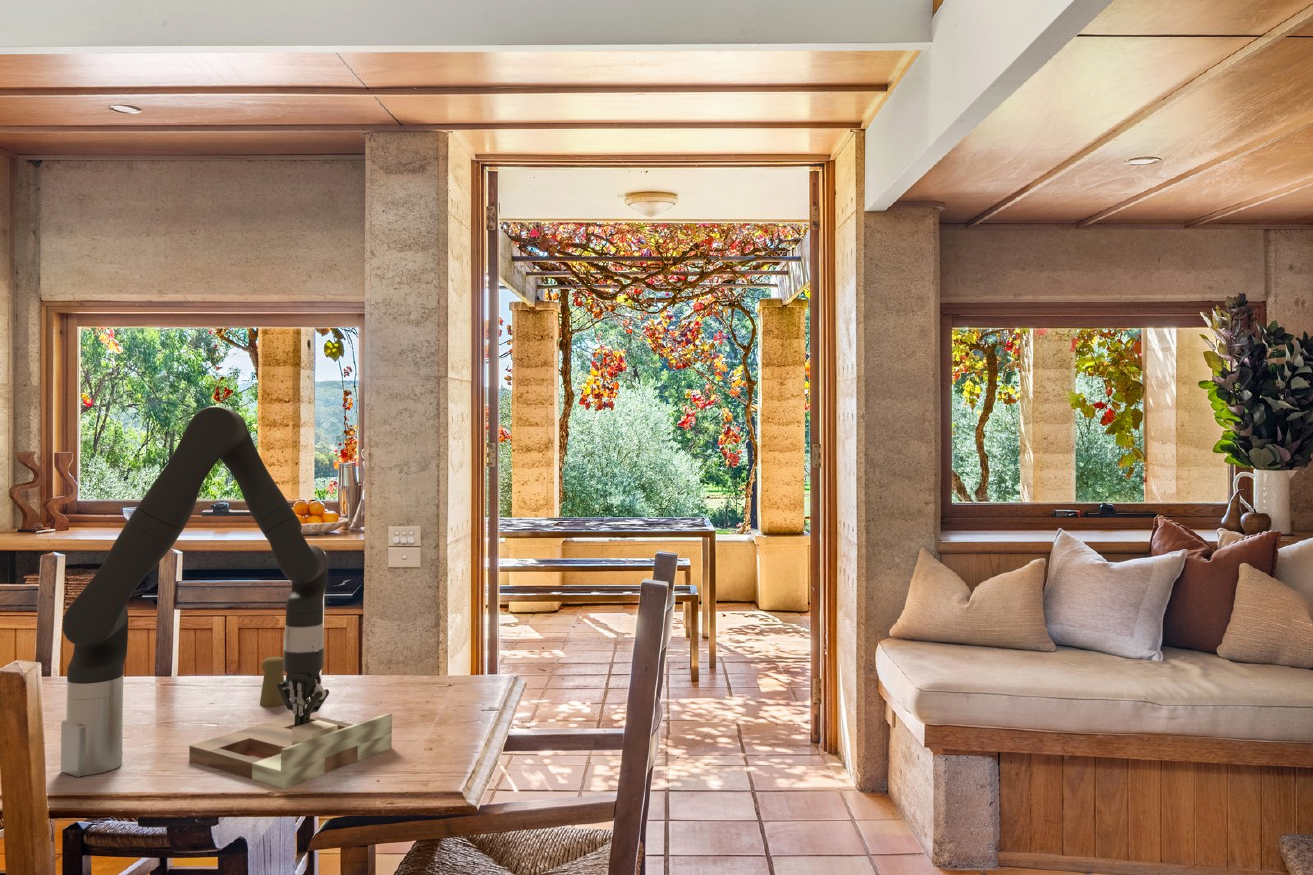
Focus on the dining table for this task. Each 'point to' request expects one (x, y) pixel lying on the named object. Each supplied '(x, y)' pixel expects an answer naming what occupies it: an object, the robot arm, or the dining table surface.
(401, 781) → the dining table surface
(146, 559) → the robot arm
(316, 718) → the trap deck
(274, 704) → the cork
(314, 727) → the block
